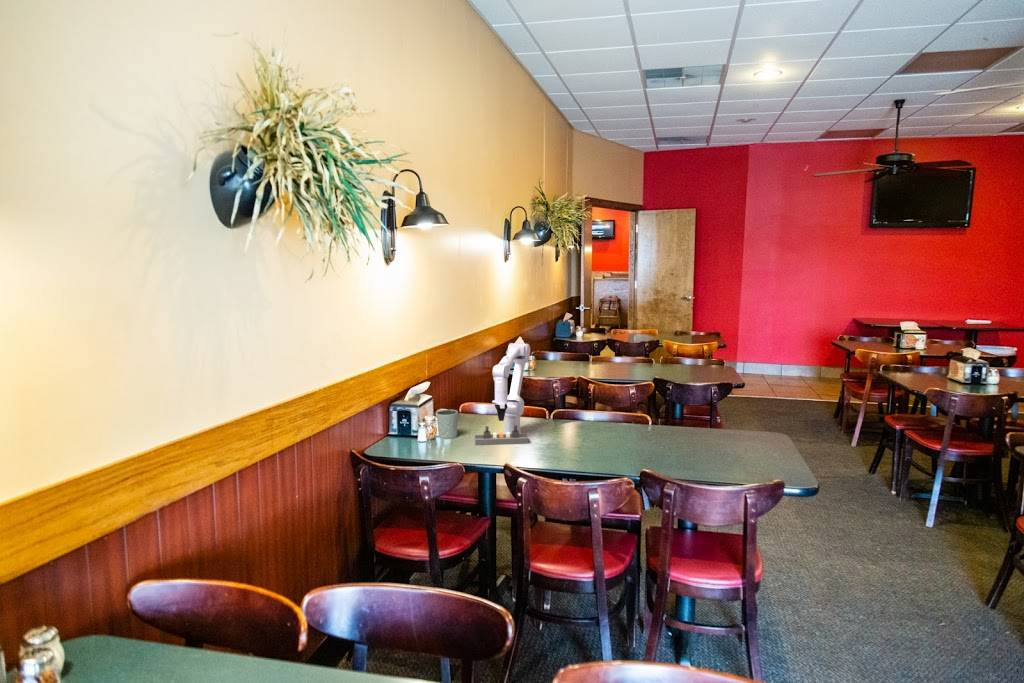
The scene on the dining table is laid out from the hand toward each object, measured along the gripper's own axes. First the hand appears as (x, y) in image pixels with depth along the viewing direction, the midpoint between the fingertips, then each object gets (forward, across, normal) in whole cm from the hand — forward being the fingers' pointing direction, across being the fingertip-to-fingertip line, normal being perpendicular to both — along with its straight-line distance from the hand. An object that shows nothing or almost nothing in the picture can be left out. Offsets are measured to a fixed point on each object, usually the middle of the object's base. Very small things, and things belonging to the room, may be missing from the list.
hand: (501, 420), depth 280 cm
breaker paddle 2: (+8, 0, +3) cm, 8 cm away
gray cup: (+10, -12, -24) cm, 29 cm away
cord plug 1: (+8, 0, -6) cm, 10 cm away
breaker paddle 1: (+8, 0, -3) cm, 8 cm away
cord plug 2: (+8, 0, +6) cm, 10 cm away
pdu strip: (+10, 0, 0) cm, 10 cm away
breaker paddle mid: (+8, 0, 0) cm, 8 cm away
